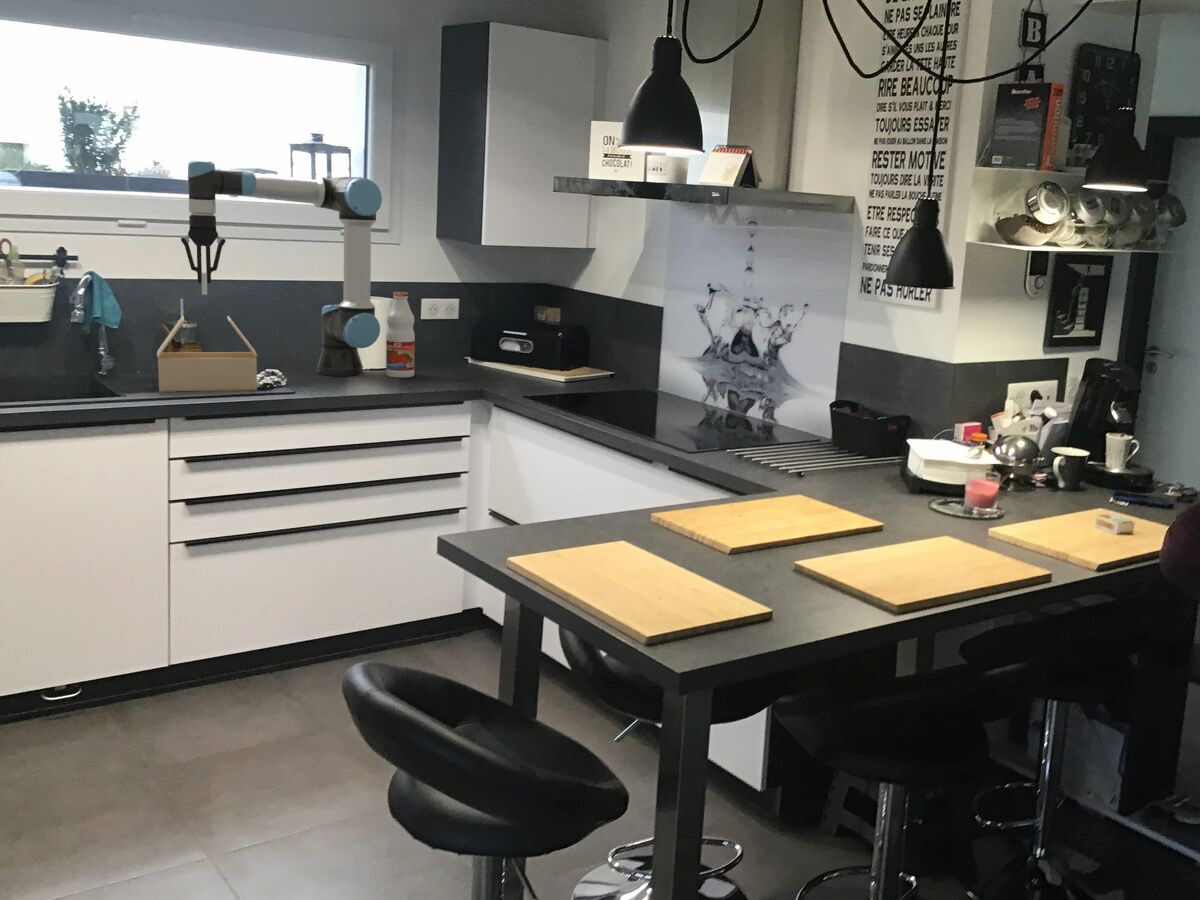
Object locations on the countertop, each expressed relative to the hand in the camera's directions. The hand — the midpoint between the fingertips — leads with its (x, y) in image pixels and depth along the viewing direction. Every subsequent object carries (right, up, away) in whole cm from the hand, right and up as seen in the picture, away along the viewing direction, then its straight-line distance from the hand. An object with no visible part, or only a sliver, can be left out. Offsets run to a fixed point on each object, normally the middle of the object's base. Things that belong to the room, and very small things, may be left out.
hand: (204, 294), depth 354 cm
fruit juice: (+51, -22, +43) cm, 71 cm away
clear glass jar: (-14, -24, +21) cm, 35 cm away
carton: (-1, -28, +6) cm, 29 cm away
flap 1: (-10, -13, 0) cm, 16 cm away
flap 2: (+9, -12, +6) cm, 16 cm away
